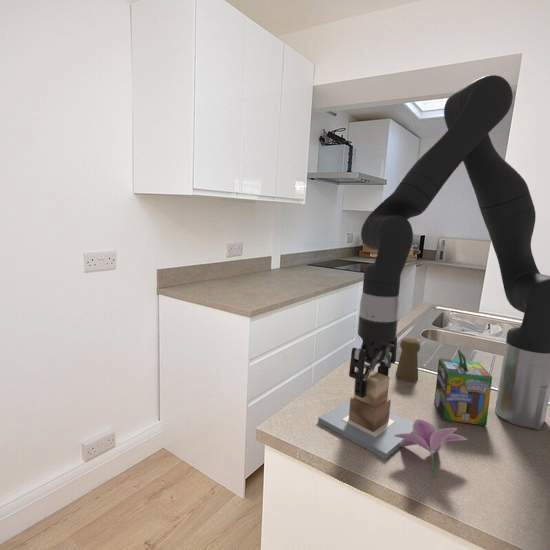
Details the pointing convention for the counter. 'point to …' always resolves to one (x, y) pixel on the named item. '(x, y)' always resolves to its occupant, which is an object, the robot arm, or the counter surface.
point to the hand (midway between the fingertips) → (371, 389)
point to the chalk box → (462, 391)
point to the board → (376, 441)
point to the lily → (428, 437)
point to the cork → (408, 360)
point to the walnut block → (369, 414)
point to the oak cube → (375, 389)
